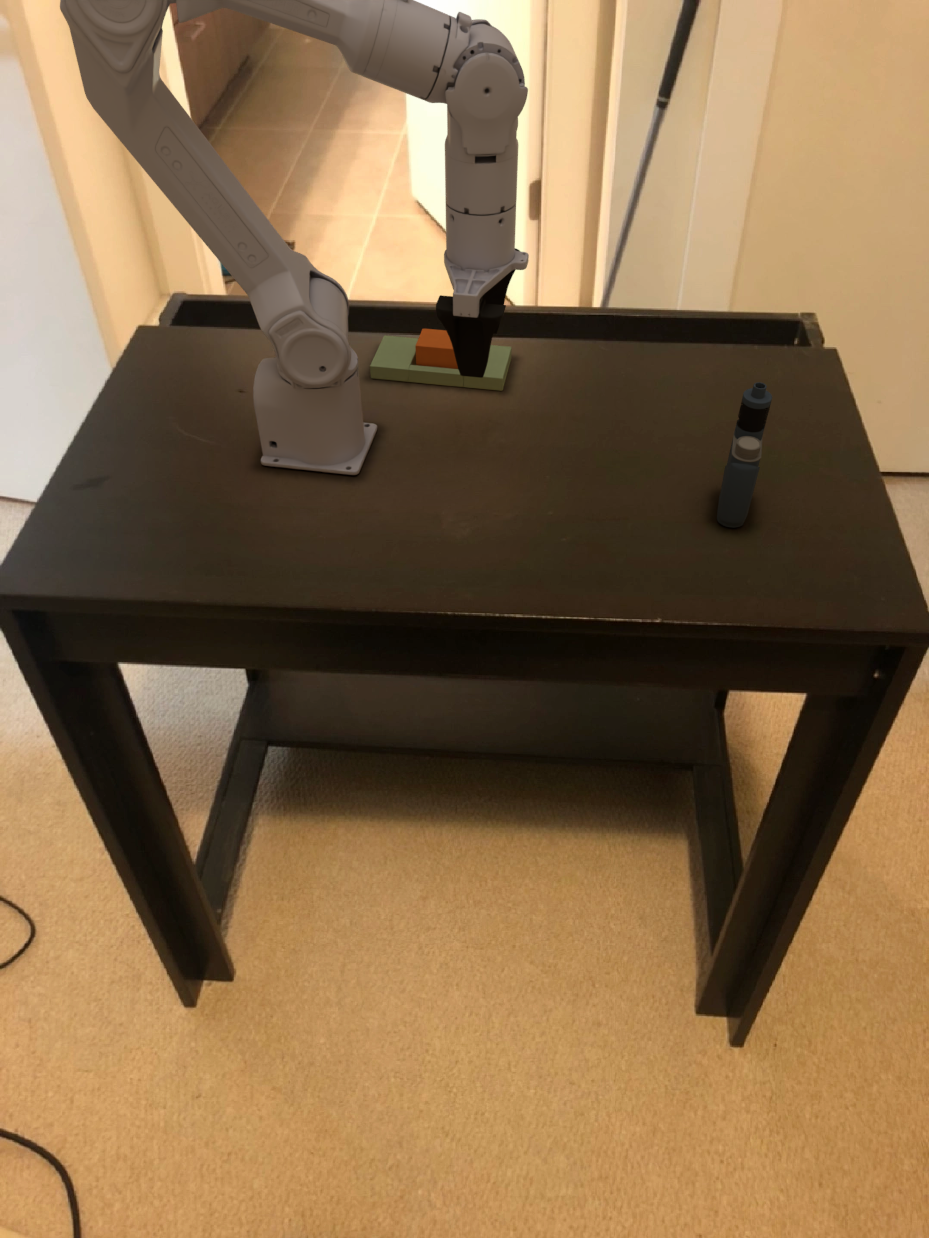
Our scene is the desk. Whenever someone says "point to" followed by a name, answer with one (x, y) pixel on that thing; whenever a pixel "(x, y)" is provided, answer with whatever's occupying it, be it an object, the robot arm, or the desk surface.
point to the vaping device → (744, 457)
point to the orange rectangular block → (435, 349)
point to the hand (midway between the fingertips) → (479, 352)
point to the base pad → (400, 365)
